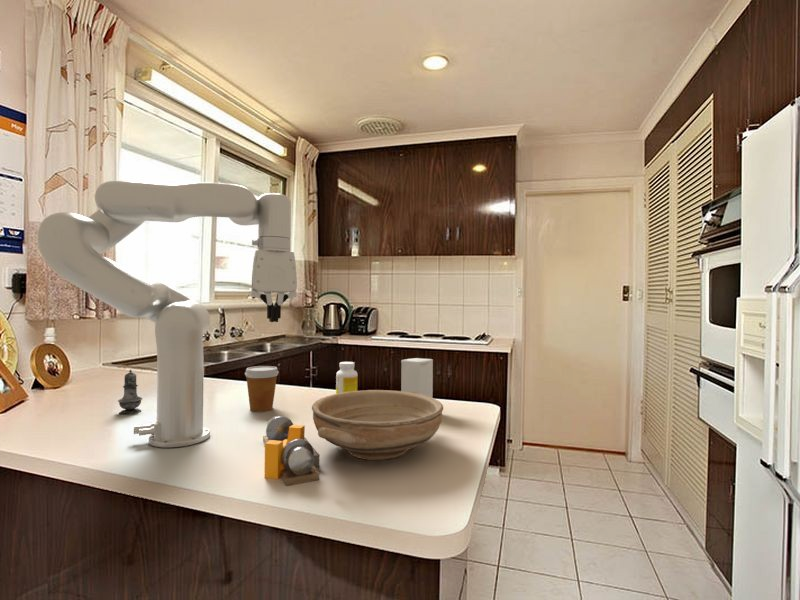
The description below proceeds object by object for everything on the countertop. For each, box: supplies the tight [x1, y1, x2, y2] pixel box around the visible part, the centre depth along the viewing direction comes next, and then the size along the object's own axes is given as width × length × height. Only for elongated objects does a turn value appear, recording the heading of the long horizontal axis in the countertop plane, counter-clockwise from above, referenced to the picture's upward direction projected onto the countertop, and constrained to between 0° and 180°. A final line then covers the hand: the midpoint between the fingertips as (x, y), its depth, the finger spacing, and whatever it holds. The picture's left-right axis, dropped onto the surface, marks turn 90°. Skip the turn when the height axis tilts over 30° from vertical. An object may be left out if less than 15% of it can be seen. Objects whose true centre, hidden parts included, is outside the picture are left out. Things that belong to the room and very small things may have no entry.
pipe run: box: [262, 415, 320, 486], centre depth 88 cm, size 8×26×6 cm, turn 26°
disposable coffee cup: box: [244, 365, 280, 413], centre depth 126 cm, size 10×10×12 cm
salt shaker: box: [117, 369, 143, 416], centre depth 121 cm, size 6×6×12 cm
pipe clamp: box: [263, 424, 306, 480], centre depth 84 cm, size 12×4×6 cm, turn 169°
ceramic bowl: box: [311, 389, 444, 461], centre depth 94 cm, size 37×29×10 cm
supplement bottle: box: [335, 361, 359, 394], centre depth 134 cm, size 7×7×13 cm
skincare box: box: [400, 357, 434, 398], centre depth 124 cm, size 8×7×16 cm
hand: (273, 321), depth 104 cm, fingers closed
